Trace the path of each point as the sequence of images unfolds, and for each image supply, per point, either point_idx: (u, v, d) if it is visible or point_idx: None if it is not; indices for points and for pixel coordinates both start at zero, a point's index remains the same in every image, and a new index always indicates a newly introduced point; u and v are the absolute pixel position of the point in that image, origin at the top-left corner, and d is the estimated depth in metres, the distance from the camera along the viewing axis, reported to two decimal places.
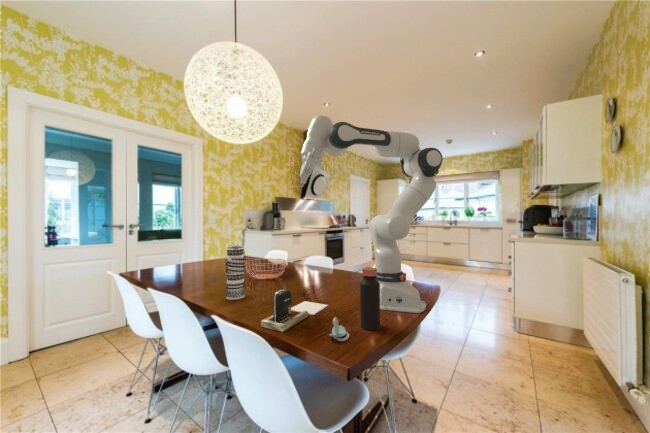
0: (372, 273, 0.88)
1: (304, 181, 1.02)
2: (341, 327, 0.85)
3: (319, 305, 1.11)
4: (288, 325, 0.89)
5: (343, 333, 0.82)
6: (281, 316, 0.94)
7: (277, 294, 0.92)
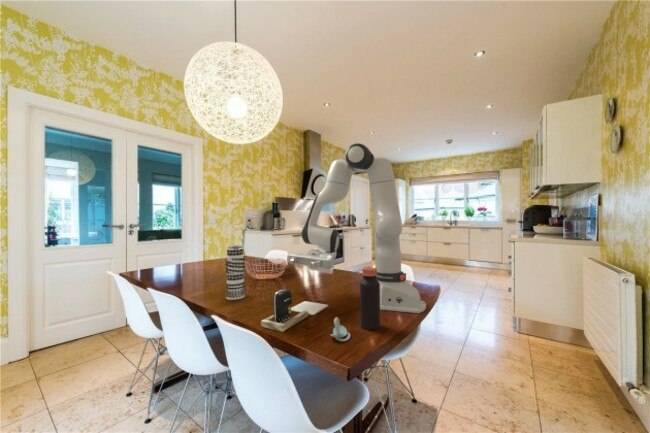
0: (372, 273, 0.88)
1: None
2: (342, 327, 0.85)
3: (319, 305, 1.11)
4: (288, 325, 0.89)
5: (344, 333, 0.82)
6: (281, 316, 0.94)
7: (277, 294, 0.92)
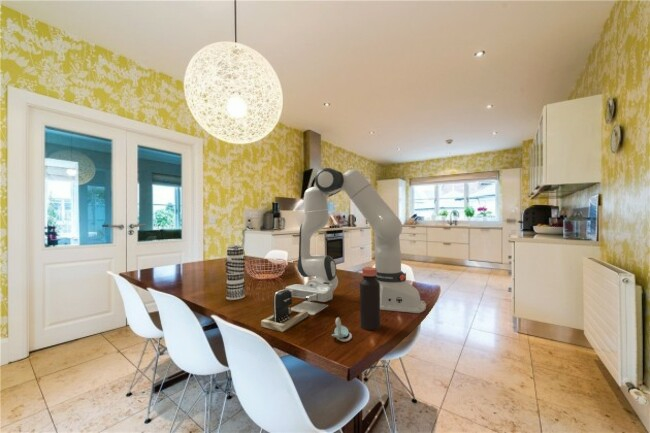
0: (372, 273, 0.88)
1: None
2: (344, 327, 0.85)
3: (319, 305, 1.11)
4: (288, 325, 0.89)
5: (346, 333, 0.82)
6: (281, 316, 0.94)
7: (277, 294, 0.92)
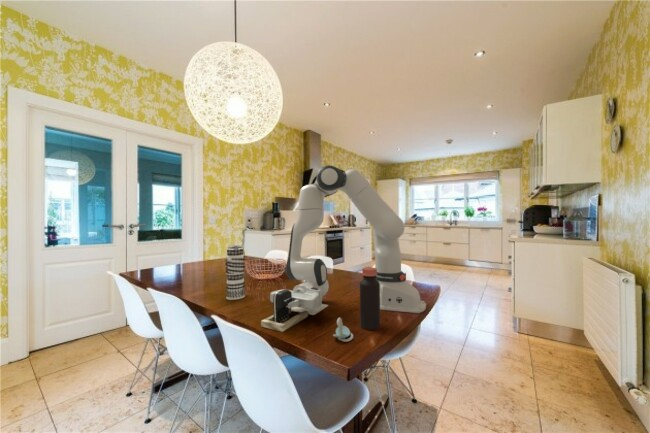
0: (372, 273, 0.88)
1: None
2: (345, 327, 0.85)
3: None
4: (288, 325, 0.89)
5: (347, 334, 0.82)
6: (281, 316, 0.94)
7: (277, 294, 0.92)
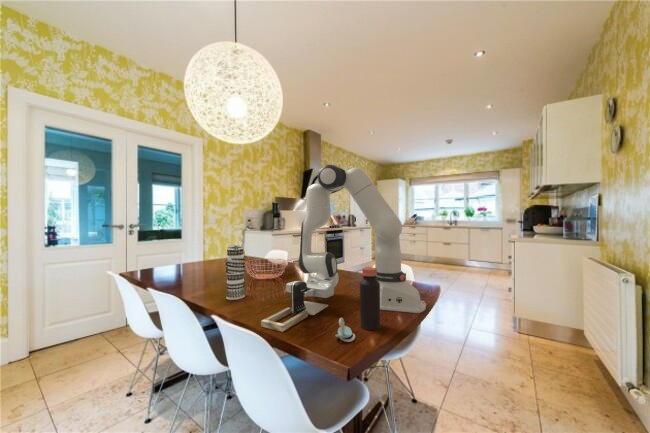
0: (372, 273, 0.88)
1: None
2: (347, 328, 0.85)
3: (319, 305, 1.11)
4: (288, 325, 0.89)
5: (349, 334, 0.82)
6: (298, 305, 1.02)
7: (294, 284, 1.01)
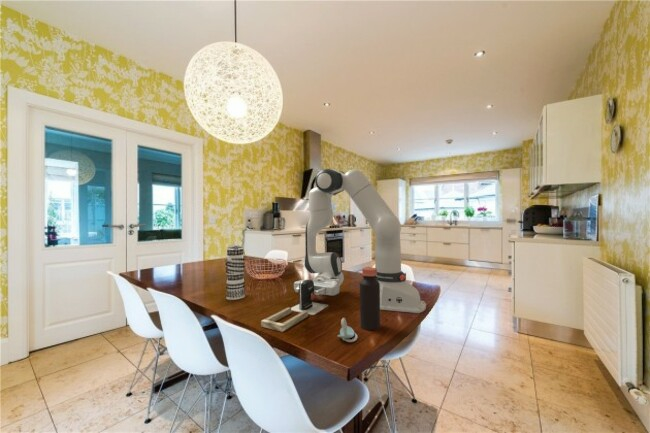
0: (372, 273, 0.88)
1: None
2: (349, 328, 0.84)
3: (319, 305, 1.11)
4: (288, 325, 0.89)
5: (351, 334, 0.82)
6: (305, 302, 1.07)
7: (302, 283, 1.06)
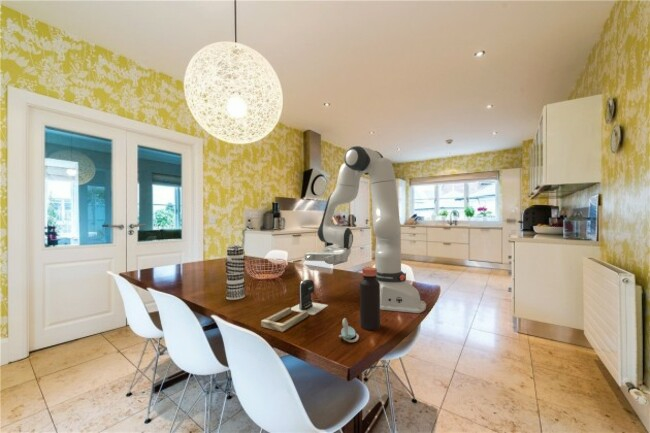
0: (372, 273, 0.88)
1: None
2: (350, 328, 0.84)
3: (319, 305, 1.11)
4: (288, 325, 0.89)
5: (353, 334, 0.81)
6: (305, 302, 1.07)
7: (302, 283, 1.06)
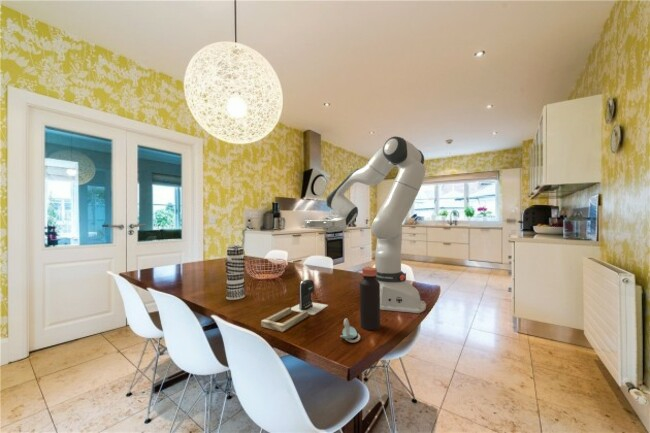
0: (372, 273, 0.88)
1: None
2: (352, 328, 0.84)
3: (319, 305, 1.11)
4: (288, 325, 0.89)
5: (354, 334, 0.81)
6: (305, 302, 1.07)
7: (302, 283, 1.06)
